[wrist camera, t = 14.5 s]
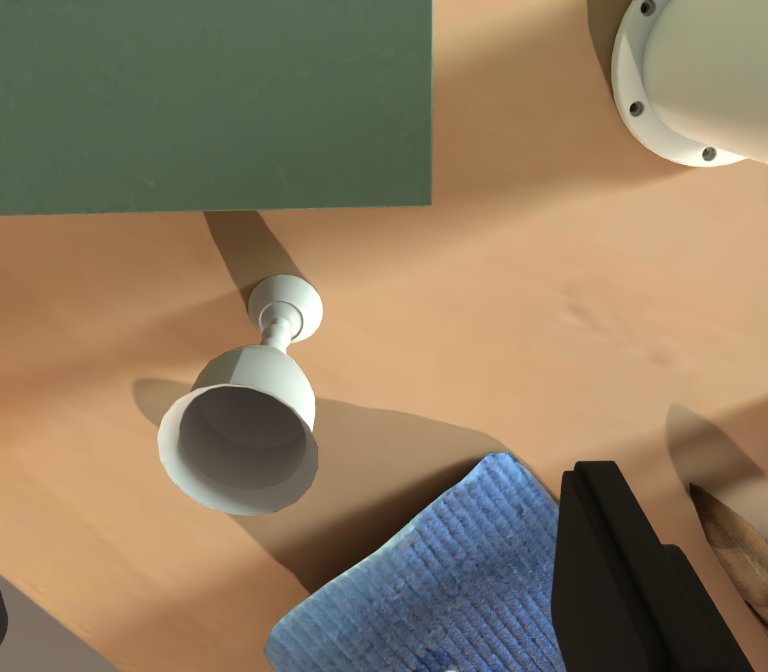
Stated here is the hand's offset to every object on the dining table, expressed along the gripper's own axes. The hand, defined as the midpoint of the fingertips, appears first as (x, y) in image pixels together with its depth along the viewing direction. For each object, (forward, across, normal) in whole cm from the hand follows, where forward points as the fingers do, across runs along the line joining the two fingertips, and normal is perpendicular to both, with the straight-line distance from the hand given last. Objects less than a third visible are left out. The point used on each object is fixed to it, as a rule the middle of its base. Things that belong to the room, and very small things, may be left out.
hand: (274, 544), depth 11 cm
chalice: (+36, +5, +10) cm, 38 cm away
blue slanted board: (+37, -13, +46) cm, 60 cm away
